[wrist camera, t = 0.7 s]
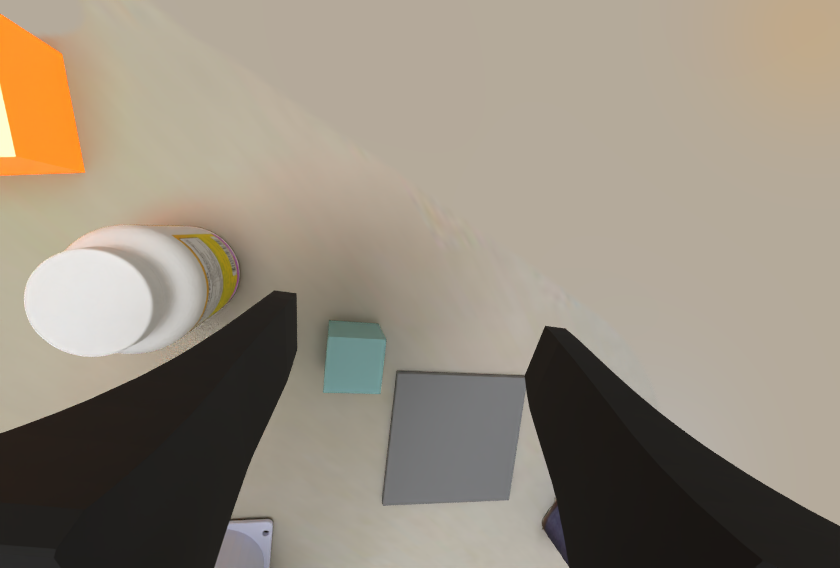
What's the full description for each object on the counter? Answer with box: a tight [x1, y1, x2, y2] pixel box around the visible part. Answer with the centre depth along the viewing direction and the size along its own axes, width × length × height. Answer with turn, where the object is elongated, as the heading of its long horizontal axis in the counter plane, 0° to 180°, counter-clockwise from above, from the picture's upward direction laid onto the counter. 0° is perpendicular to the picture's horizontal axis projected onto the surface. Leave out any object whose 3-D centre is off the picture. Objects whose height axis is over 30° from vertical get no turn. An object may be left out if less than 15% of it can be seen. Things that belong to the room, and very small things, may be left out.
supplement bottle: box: [24, 225, 240, 357], centre depth 22 cm, size 7×7×13 cm
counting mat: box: [382, 371, 526, 506], centre depth 35 cm, size 12×12×1 cm
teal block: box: [323, 320, 386, 394], centre depth 29 cm, size 4×4×5 cm
